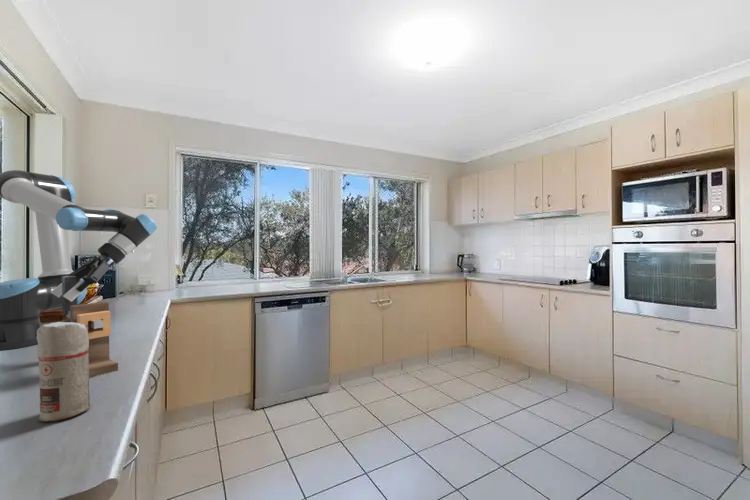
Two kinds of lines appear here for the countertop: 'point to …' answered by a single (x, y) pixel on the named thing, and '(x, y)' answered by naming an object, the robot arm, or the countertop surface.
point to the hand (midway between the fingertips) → (60, 297)
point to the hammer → (68, 284)
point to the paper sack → (63, 370)
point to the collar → (95, 316)
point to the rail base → (95, 340)
